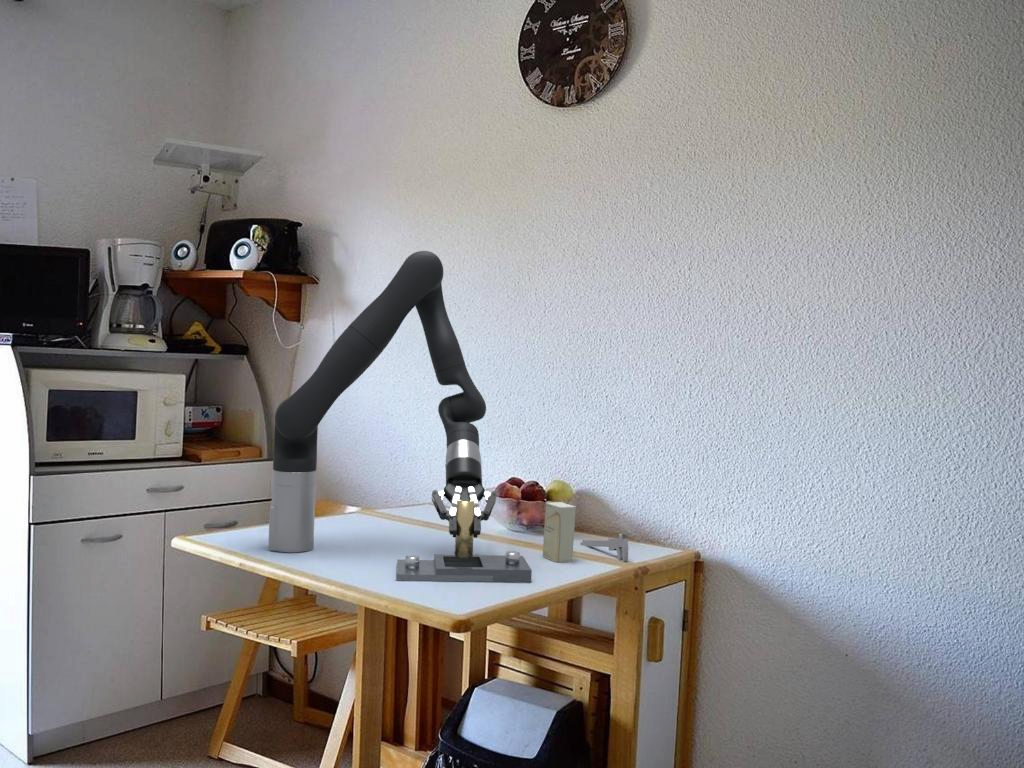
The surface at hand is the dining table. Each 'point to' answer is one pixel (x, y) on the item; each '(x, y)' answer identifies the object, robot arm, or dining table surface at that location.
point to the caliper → (612, 545)
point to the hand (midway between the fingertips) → (465, 535)
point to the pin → (464, 528)
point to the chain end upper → (487, 566)
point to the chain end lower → (433, 571)
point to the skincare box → (559, 531)
